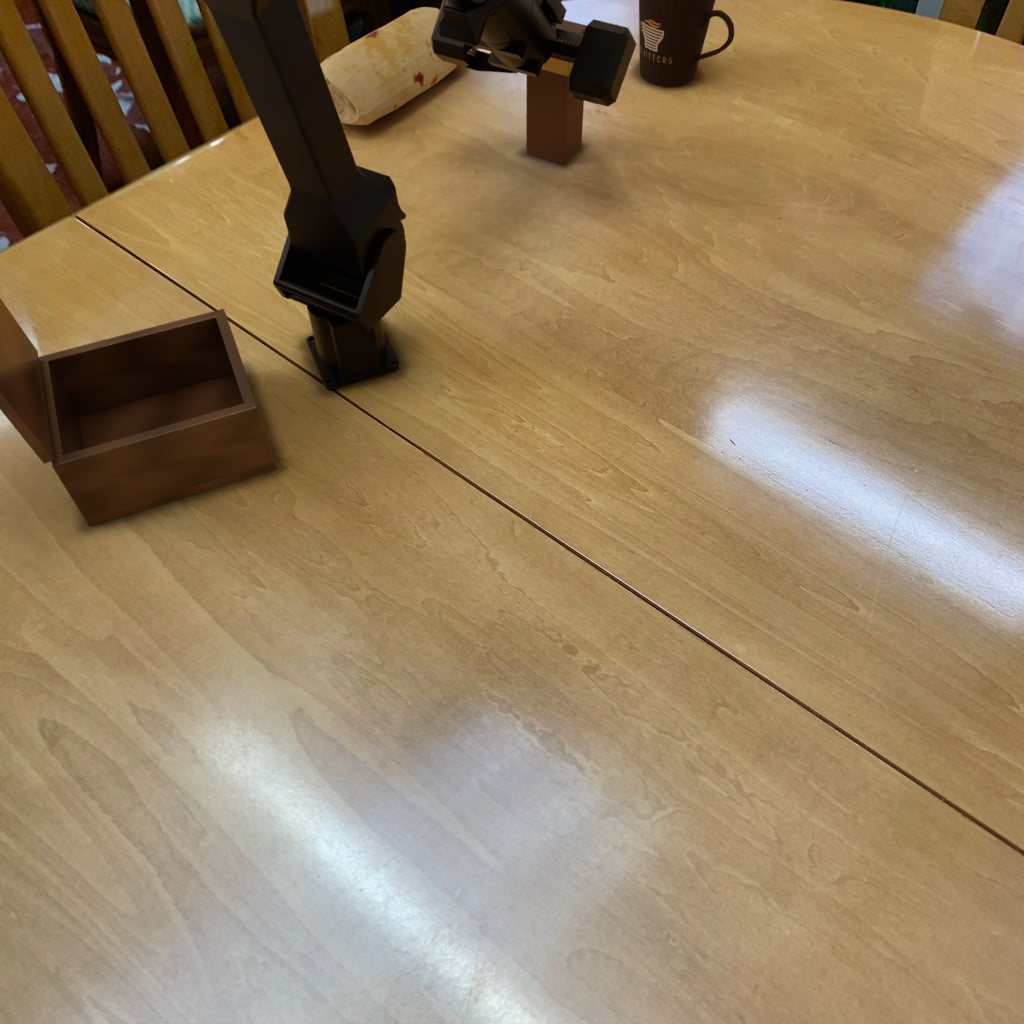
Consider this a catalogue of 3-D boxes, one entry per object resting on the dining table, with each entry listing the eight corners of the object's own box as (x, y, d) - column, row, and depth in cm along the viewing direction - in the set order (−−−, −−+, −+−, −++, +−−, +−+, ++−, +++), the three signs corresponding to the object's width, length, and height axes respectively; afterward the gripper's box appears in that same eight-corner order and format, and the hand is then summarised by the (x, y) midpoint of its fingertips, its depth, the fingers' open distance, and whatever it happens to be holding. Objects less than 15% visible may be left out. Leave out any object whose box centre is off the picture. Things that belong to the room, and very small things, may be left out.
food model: (362, 150, 99) (474, 76, 109) (362, 93, 93) (481, 21, 103) (293, 108, 101) (410, 39, 111) (290, 50, 95) (413, -17, 106)
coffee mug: (618, 61, 109) (626, -30, 101) (686, 49, 110) (699, -41, 102) (657, 110, 102) (669, 17, 94) (729, 98, 103) (746, 4, 95)
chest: (244, 371, 77) (223, 308, 72) (277, 469, 71) (257, 407, 65) (71, 419, 74) (35, 357, 69) (89, 526, 68) (51, 466, 62)
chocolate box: (564, 165, 96) (569, 43, 86) (525, 154, 97) (525, 32, 87) (582, 146, 98) (588, 25, 88) (543, 135, 99) (546, 14, 89)
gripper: (637, -70, 73) (675, 16, 87) (437, -113, 78) (504, -25, 93) (587, 73, 75) (632, 134, 89) (396, 22, 81) (467, 87, 95)
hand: (558, 78), depth 92 cm, fingers open, 9 cm apart
